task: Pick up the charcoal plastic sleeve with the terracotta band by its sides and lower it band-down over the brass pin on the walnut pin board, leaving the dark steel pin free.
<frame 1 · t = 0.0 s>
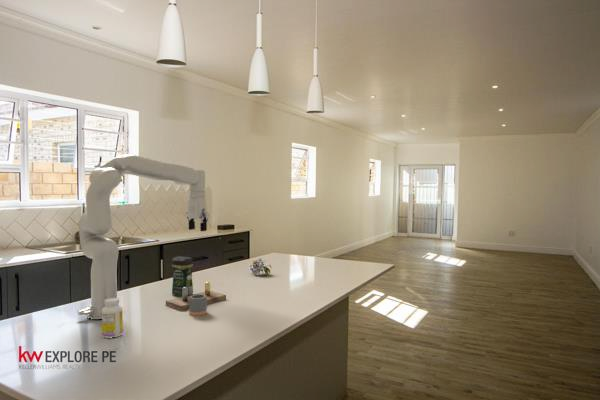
hand: (197, 230, 200), 31 cm above the counter, tool pointing down, fingers open, 9 cm apart
pins: (196, 291, 186), on the pin board, point 5 cm above the counter
sleeve: (198, 313, 170), on the counter
passion flower: (259, 275, 244), on the counter
supplement bottle: (112, 336, 145), on the counter
pin board: (196, 302, 186), on the counter
coffee jar: (182, 295, 199), on the counter
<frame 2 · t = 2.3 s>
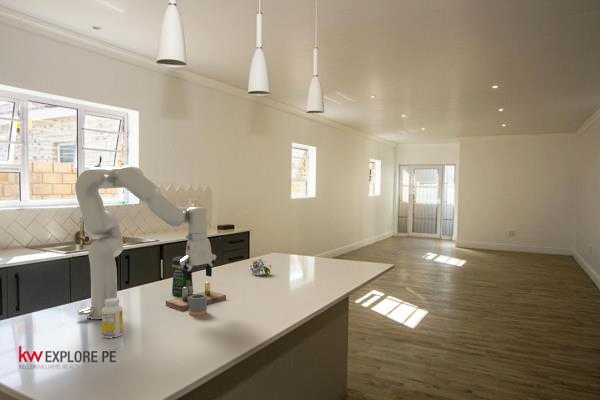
hand: (199, 278, 170), 15 cm above the counter, tool pointing down, fingers open, 9 cm apart
nothing on the counter moved.
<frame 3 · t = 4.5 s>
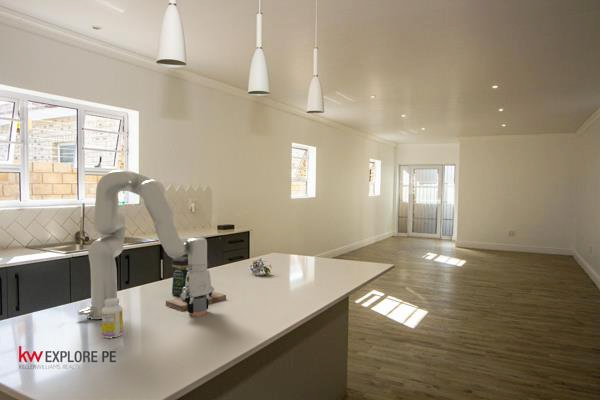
hand: (198, 310, 170), 1 cm above the counter, tool pointing down, fingers closed on sleeve, 6 cm apart
sleeve: (198, 313, 170), on the counter, touching gripper
everything else where it was.
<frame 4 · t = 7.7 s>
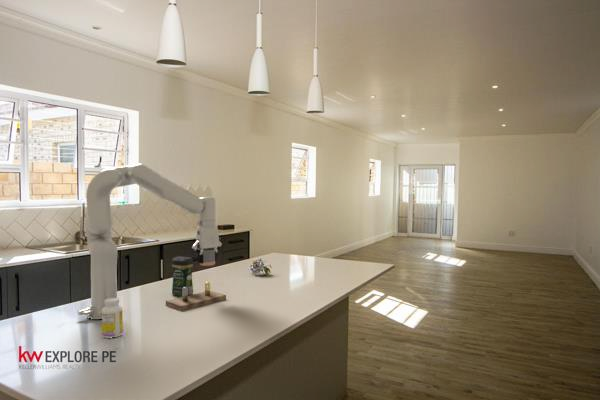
hand: (207, 261, 190), 18 cm above the counter, tool pointing down, fingers closed on sleeve, 6 cm apart
sleeve: (207, 264, 190), point 16 cm above the counter, touching gripper
everything else where it was.
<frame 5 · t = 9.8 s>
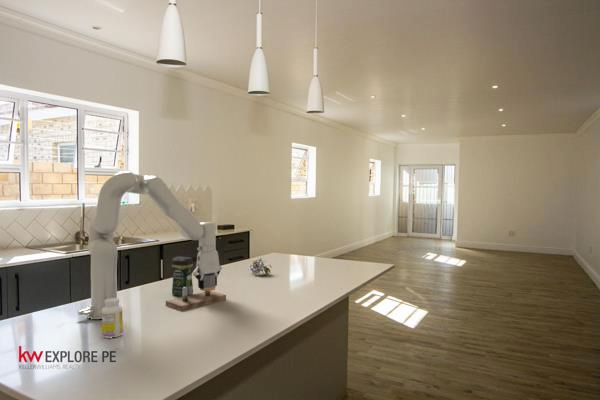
hand: (207, 286, 191), 6 cm above the counter, tool pointing down, fingers closed on sleeve, 6 cm apart
sleeve: (207, 289, 191), point 5 cm above the counter, touching gripper
everything else where it was.
when the fingers open (5 cm above the counter, at t = 11.3 s): sleeve drops 2 cm, resting on pin board.
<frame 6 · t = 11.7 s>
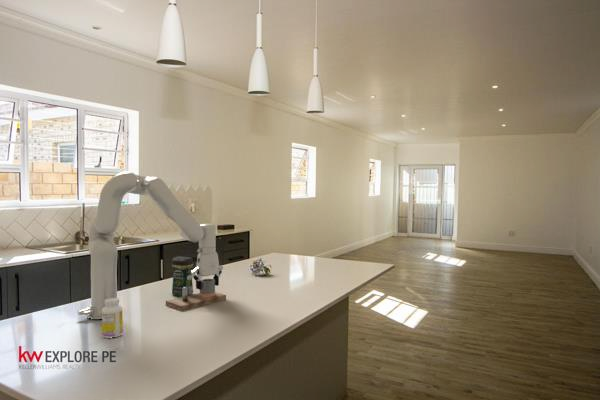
hand: (207, 287, 190), 6 cm above the counter, tool pointing down, fingers open, 9 cm apart
sleeve: (207, 295, 191), point 2 cm above the counter, touching pin board
everything else where it was.
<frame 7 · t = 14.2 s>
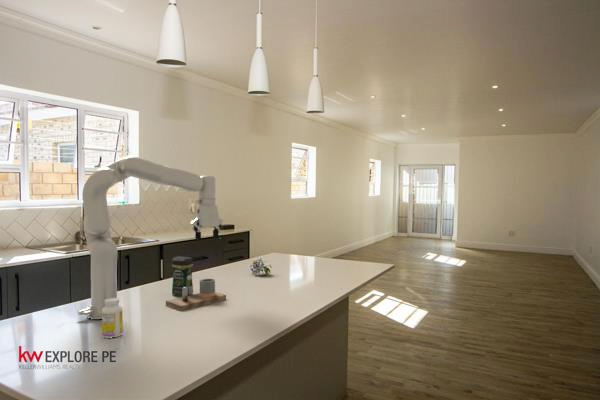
hand: (207, 239, 190), 28 cm above the counter, tool pointing down, fingers open, 9 cm apart
nothing on the counter moved.
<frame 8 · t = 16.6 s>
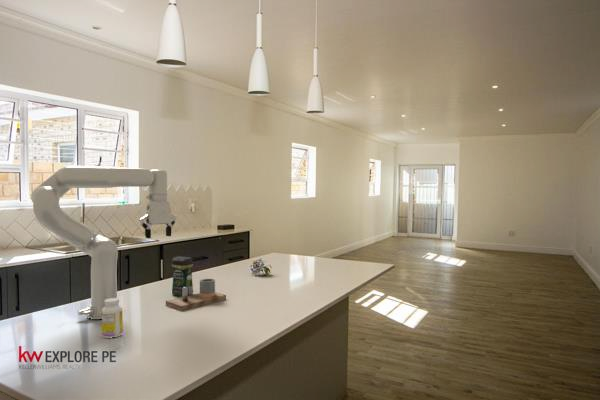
hand: (158, 237, 180), 30 cm above the counter, tool pointing down, fingers open, 9 cm apart
nothing on the counter moved.
at the end: sleeve 0.1 cm from the target spot on the pin board, point 2.0 cm above the pin board's base; sleeve tilted 0°; the gripper is holding nothing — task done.
